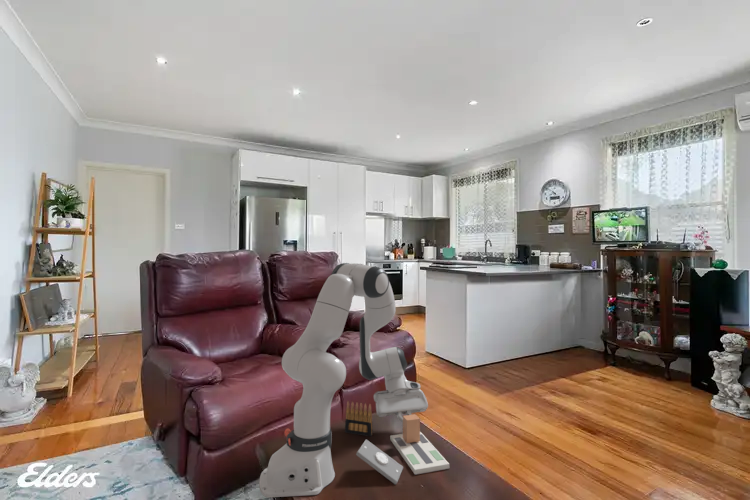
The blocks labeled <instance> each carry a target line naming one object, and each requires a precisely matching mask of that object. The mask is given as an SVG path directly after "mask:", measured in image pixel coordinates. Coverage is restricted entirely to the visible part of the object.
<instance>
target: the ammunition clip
mask: <svg viewBox="0 0 750 500" xmlns="http://www.w3.org/2000/svg"><path fill="white" fill-rule="evenodd" d="M345 410H346V411H345V421H344V422H345V425H344V426H345V427H344V433H347V434H353V435H359V436H364V437H365V436H366V437H372V436H373V413H372V404H371V403H369V404H368V406H367V403H366V402H365V403H364V405H363V402H360V403H359V402H358V401H356V402H355V404H354V401H351V404H350V401H349V400H347V402H346V408H345Z"/></svg>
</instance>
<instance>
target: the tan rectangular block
mask: <svg viewBox="0 0 750 500" xmlns="http://www.w3.org/2000/svg"><path fill="white" fill-rule="evenodd" d="M402 417H403V426H402V434H403V439H404V440H405V442H406V443H411V442H418V441H420V432H421V419H420V417H419V416H418V415H417V413H412V414H411V415H406V414H404V415H402Z"/></svg>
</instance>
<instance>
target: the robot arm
mask: <svg viewBox="0 0 750 500" xmlns="http://www.w3.org/2000/svg"><path fill="white" fill-rule="evenodd" d="M354 296H356V297H361V298H363V299H364V305H365V312H364V314H363V316H362V317H361V318H360V320H359V362H358V369H359V373H360V374H361V376H362V377H363V378H364V379H366V380H369V381H373V380H375V379H378V378H380V377H381V378H382V377H383V379H384V385H385V390H381V391H379V390H378V391H375V392H374V394H373V401H374V402H375V410H376V416H378V417H379V418H382V417H390V416H396V417H397V419H398V421H400V422H401V426H402V427H403V415H412V414H417V413H422V412H426V411H427V410H428V408H429V403H428V399H427V396H426V395H425V393H424V391H423V390H421V384H420V383H419V382H415V381H412V380H411V381H410V380H407V377H406V376H405V371H406V370H407V368H408V362H407V359H406V356H405V351H404V350H403V349H401V348H400V347H398V346H394V347H388V348H385V349H381V350H378V351H371V338H372V336H373V334H374V333H376V332H377V331H378V330H380V329H382V328H383V327H385V326H386V325H389V323H390V322H391V321H392V320H393V319H394V317H395V315H396V311H397V307H396V300H395V295H394V292H393V288H392V285H391V282H390V279H389V276H388V274H387V272H386V271H385V269H383V268H381V267H378V266H374V265H373V266H372V265H367V264H363V263H349V262H342V263H339V264H338V265H337V264H336V266H335V267H334V269H333V270H332V271H331V275H329V276H328V278H326V280H325V282H324V283H323V286H322V288H321V289H320V292H319V293H318V296H317V299H316V303H315V305H314V307H313V310H312V313H311V316H310V319H309V320H308V323H307V325H306V327H305V329H304V330H303V333H302V334H301V335H300V336H299V338H298V340H297V341H295V343H294V344H293V345H291V346H290V347H288V348H287V349H286V350H285V352H284V353H283V355H282V357H281V367H282V369H283V371H284V372H285V374H287V376H288V377H289V378H291V379H292V380H294V381H296V382H298V383H300V384H302V387H303V389H302V394H301V397H300V399H298V401H296V403H295V404H294V407H293V430H291V429H290V428H289V427H288V428H285V430H284V436H285V437H286V443H285V444H284V445H283V446H282V447H280V448H279V449H278V450H277V451H275V452H274V453H272V455H270V459H269V460H268V466H267V467H266V468H264V469H263V471H261V473H260V476H259V482H258V483H259V484H258V487H259V491H260V493H261V495H262V496H264V497H265V498H280V497H281V498H284V497H299V496H300V497H301V496H316V495H319V494H320V493H321V492H322V490H323V489H324V488H325V487H327V486H328V485H330V484H331V483H332V482H333V481H334V479H335V476H336V473H335V469H334V465H333V460H332V452H331V449H332V441H333V438H332V437H333V436H332V435H333V434H332V433H333V432H332V429H331V407H332V402H333V398H334V395H335V393H336V392H337V391H338V390H340V389H341V388H342V387H343V384H344V382H345V381H346V377H347V368H346V365H345V364H344V362H343V361H342V360H341V359H339V358H338V357H336V355H334V354H332V353H330V352H327V350H328V348H329V347H330V346H331V344H332V343H333V342H334V341H335V340H337V339H339V338H340V337H341V336H342V335H343V332H344V328H345V325H346V322H347V319H348V316H349V313H350V309H351V306H352V303H353V302H352V301H353V297H354Z"/></svg>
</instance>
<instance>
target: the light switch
mask: <svg viewBox="0 0 750 500" xmlns="http://www.w3.org/2000/svg"><path fill="white" fill-rule="evenodd" d="M355 455H356V456H357V457H358V458H359V459H361V460H362V461H363V462H365V463H366V464H368V466H370V467H371V468H373V469H374V470H375V471H377V472H378V473H380V474H381V475H382V476H383V477H385V478H386V479H387V480H388V481H390V482H391V483H392V484H393V485H397V484H398V482H399V479H400V477H401V474H402V472H403V470H404V466H403V465H402V464H400V463H399V462H397V461H396V460H395V459H394V458H392V457H391V456H389V454H387V453H386V452H384V451H383V450H381V449H380V448H379V447H377V446H376V445H375V444H373V443H372V442H370V441H369V440H368V439H365V440H364V442H363V443H362V444H361V446H360V447H359V448H358V450H357V451H356V454H355Z"/></svg>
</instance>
